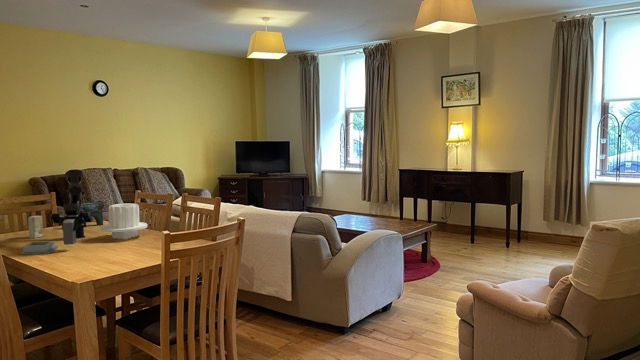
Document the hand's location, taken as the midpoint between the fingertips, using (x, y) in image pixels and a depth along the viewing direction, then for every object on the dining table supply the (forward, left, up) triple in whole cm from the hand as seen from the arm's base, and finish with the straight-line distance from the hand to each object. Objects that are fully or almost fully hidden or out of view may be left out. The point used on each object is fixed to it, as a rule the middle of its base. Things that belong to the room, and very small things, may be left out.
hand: (68, 231), depth 244 cm
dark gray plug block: (-1, -1, -7) cm, 7 cm away
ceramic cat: (-37, -61, -10) cm, 72 cm away
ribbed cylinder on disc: (-35, -10, -10) cm, 38 cm away
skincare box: (-2, -51, -10) cm, 52 cm away
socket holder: (+10, -11, -10) cm, 18 cm away
